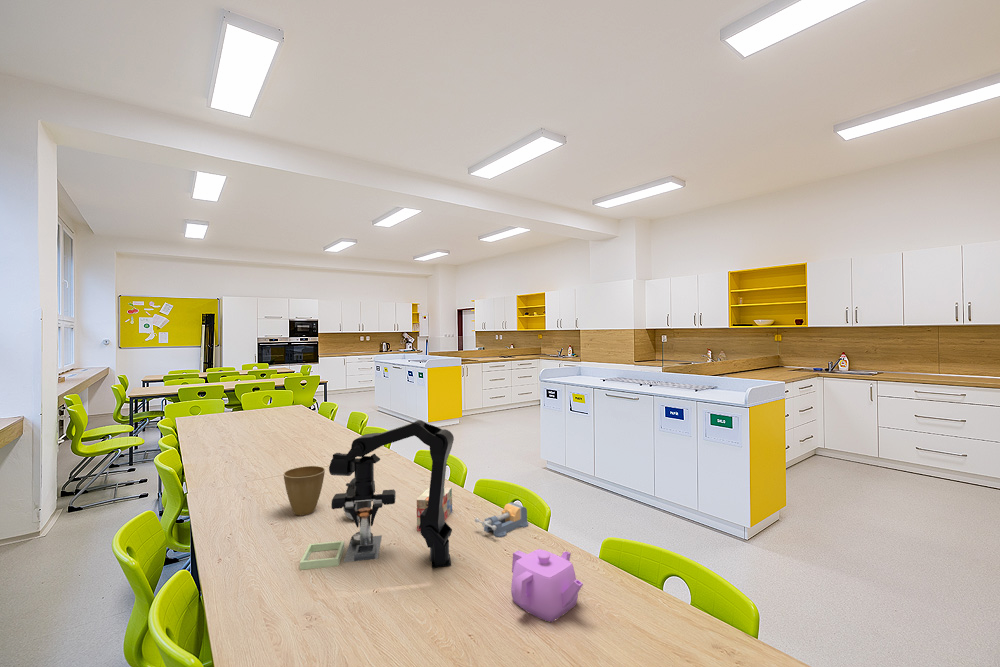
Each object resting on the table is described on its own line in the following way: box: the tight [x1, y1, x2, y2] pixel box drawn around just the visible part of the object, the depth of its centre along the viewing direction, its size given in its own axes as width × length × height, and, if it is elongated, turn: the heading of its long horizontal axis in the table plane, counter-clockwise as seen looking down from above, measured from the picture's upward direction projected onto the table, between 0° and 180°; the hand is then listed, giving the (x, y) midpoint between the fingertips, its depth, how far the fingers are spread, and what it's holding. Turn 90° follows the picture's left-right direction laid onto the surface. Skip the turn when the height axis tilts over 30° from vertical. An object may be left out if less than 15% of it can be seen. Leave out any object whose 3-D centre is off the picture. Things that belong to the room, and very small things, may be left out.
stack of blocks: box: [416, 486, 453, 532], centre depth 164 cm, size 21×6×12 cm, turn 169°
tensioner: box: [343, 531, 383, 563], centre depth 142 cm, size 16×10×4 cm, turn 11°
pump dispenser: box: [342, 477, 373, 521], centre depth 169 cm, size 10×10×15 cm
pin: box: [357, 507, 372, 545], centre depth 139 cm, size 4×4×10 cm
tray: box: [299, 540, 345, 571], centre depth 136 cm, size 12×11×3 cm
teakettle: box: [510, 548, 584, 623], centre depth 114 cm, size 17×17×12 cm
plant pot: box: [283, 465, 326, 516], centre depth 175 cm, size 15×15×16 cm
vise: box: [474, 501, 529, 538], centre depth 157 cm, size 18×10×7 cm, turn 133°
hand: (364, 526), depth 139 cm, fingers closed on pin, 4 cm apart
